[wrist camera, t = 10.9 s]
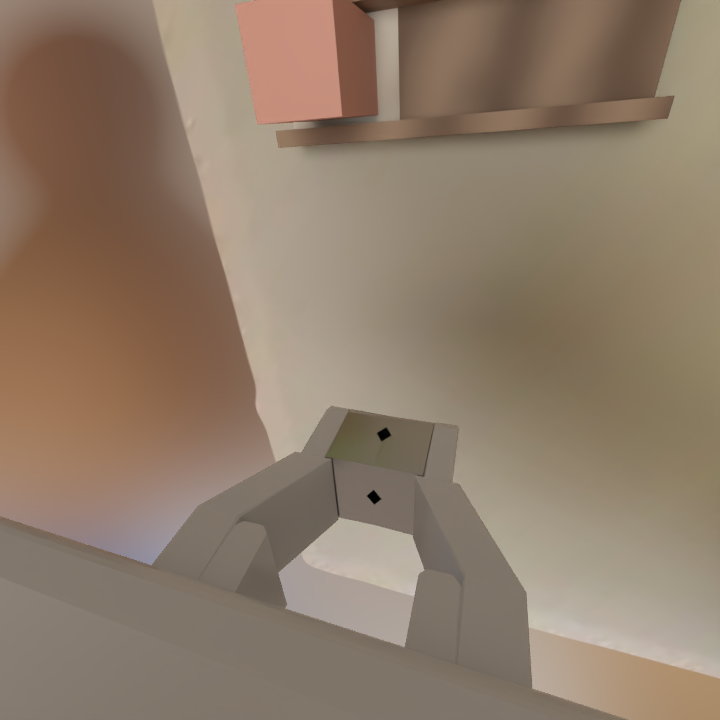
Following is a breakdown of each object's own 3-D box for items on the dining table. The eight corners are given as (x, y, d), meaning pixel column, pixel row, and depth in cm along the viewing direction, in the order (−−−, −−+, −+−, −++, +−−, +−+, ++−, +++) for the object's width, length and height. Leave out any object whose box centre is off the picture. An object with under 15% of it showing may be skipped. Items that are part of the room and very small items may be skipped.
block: (374, 20, 24) (331, -15, 17) (378, 115, 26) (342, 116, 20) (300, 32, 25) (235, 4, 19) (311, 121, 28) (257, 124, 21)
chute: (691, -64, 19) (732, -100, 16) (643, 117, 23) (667, 118, 20) (283, 10, 26) (253, -4, 22) (301, 143, 30) (278, 147, 26)
